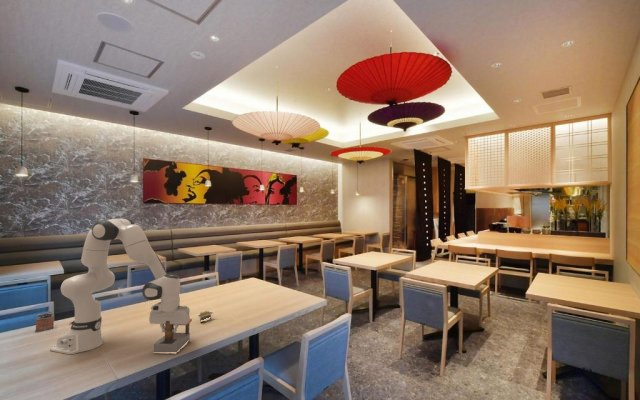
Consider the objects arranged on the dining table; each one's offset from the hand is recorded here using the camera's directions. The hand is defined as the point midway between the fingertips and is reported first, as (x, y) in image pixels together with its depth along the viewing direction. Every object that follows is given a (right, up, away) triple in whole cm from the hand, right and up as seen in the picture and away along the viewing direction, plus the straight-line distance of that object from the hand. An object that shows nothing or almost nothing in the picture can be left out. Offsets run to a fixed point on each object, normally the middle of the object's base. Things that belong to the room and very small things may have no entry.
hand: (169, 332), depth 151 cm
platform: (+3, -12, +40) cm, 42 cm away
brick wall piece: (-86, -9, +21) cm, 90 cm away
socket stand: (0, -10, +3) cm, 10 cm away
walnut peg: (0, -4, 0) cm, 4 cm away
